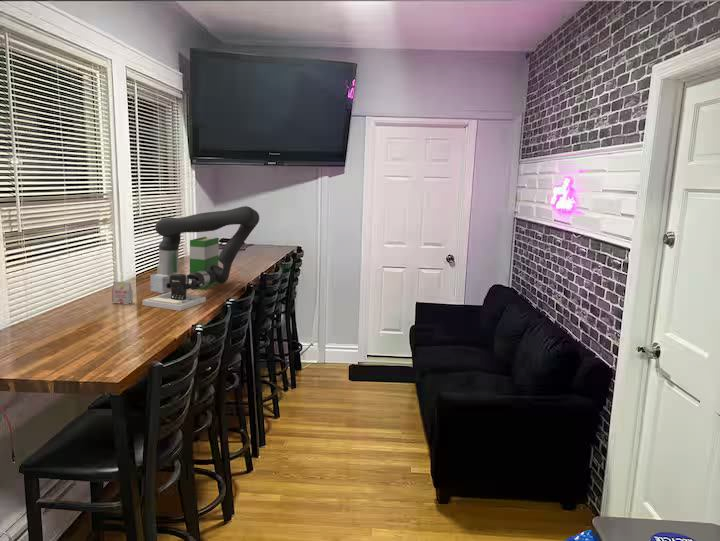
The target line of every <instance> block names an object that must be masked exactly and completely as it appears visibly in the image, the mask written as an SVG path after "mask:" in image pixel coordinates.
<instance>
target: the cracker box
mask: <svg viewBox="0 0 720 541" xmlns="http://www.w3.org/2000/svg"><path fill="white" fill-rule="evenodd" d="M151 301H154V302H161V303H168V304H174V305H182V301H179V300H171V299H164V298H154V299H151Z"/></svg>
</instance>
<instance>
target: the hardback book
mask: <svg viewBox="0 0 720 541" xmlns="http://www.w3.org/2000/svg"><path fill="white" fill-rule="evenodd" d="M219 244H220V243H219V237H213V238H210V237H209V238H208V237H207V236H202V237H198V238H194V239H190V240H189V274H191V273H194V272H198V271H204V270H206V269H207V268H208V267H209V266H211V265H217V266H219V260H218V257H219V250H220V248H219ZM217 284H219V283H218V282H216V281H214V282H213V283H212V284H209V285H206V286H204V287H202V288H199V289H198V290H201V291H202V290H203V291H204V290H207V289H209V288H211V287H213V286H216V285H217Z"/></svg>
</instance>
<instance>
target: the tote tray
mask: <svg viewBox="0 0 720 541" xmlns="http://www.w3.org/2000/svg"><path fill="white" fill-rule="evenodd" d="M154 298H164V299H171V291H170V292H169V293H162V294H159V295H156V296H153V297H149V298H146V299H143V300H142V306H144V305H145V307H152V308H157V309H158V308H159V309H165V310H171V311H172V310H174V311H179V312H180V311H184V310H187V309H190V308H192V307H194V306H197V305H200V304H203V303H206V301H207V296H200V295H193V294H187V299H186V300H179V301H182V305H174V304H168V303H161V302H154V301H151V299H154ZM171 300H173V299H171Z"/></svg>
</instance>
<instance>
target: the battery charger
mask: <svg viewBox="0 0 720 541" xmlns="http://www.w3.org/2000/svg"><path fill="white" fill-rule="evenodd" d="M187 275H188V274H187V273H183V272H182V273H180V272H179V273H173V274H171V275H170V279H169V285H170V286H171V288H170V292H171V299H173V300H186V299H187V295H188V289H187V290H182V285H185V284H187Z"/></svg>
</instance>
